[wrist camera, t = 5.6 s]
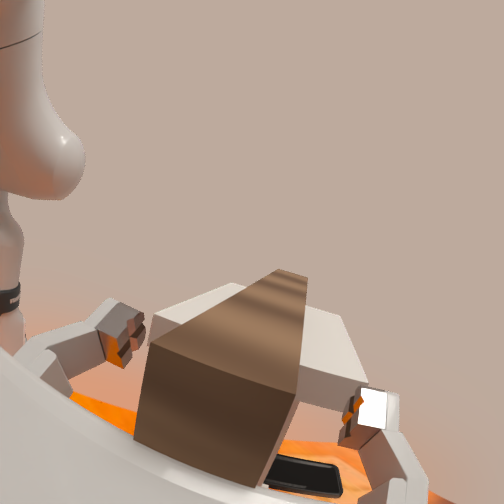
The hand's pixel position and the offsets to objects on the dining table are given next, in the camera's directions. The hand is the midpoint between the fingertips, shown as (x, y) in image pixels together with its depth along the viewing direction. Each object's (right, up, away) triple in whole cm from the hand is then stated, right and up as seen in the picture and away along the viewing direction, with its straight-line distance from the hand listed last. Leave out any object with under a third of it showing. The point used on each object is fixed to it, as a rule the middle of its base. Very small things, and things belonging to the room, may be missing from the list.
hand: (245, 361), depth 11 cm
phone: (+6, -29, +27) cm, 40 cm away
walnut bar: (+1, -1, +8) cm, 8 cm away
